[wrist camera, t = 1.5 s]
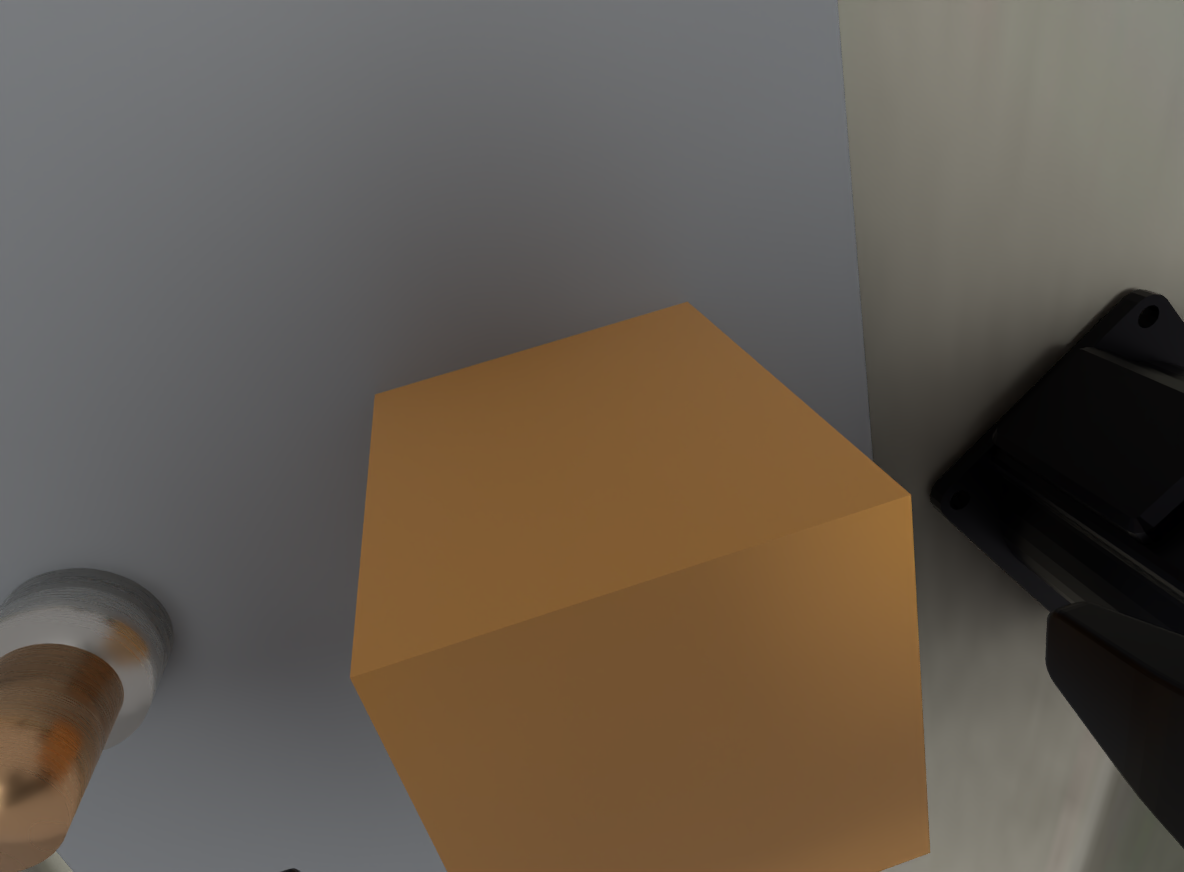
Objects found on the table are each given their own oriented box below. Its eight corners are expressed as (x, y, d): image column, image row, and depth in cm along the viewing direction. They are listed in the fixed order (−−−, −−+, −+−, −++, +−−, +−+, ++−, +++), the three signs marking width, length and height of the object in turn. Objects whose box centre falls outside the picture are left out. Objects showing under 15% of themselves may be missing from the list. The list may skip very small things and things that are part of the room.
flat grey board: (874, 799, 23) (902, 844, 22) (261, 1020, 22) (252, 1081, 20) (772, -225, 12) (817, -259, 11) (-475, 77, 11) (-599, 80, 10)
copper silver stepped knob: (205, 614, 15) (140, 792, 11) (122, 717, 15) (36, 917, 12) (48, 540, 13) (-78, 713, 10) (-36, 654, 14) (-185, 856, 10)
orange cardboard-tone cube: (734, 556, 17) (930, 852, 10) (472, 641, 16) (514, 1004, 10) (687, 301, 14) (910, 494, 8) (374, 394, 14) (349, 677, 7)
